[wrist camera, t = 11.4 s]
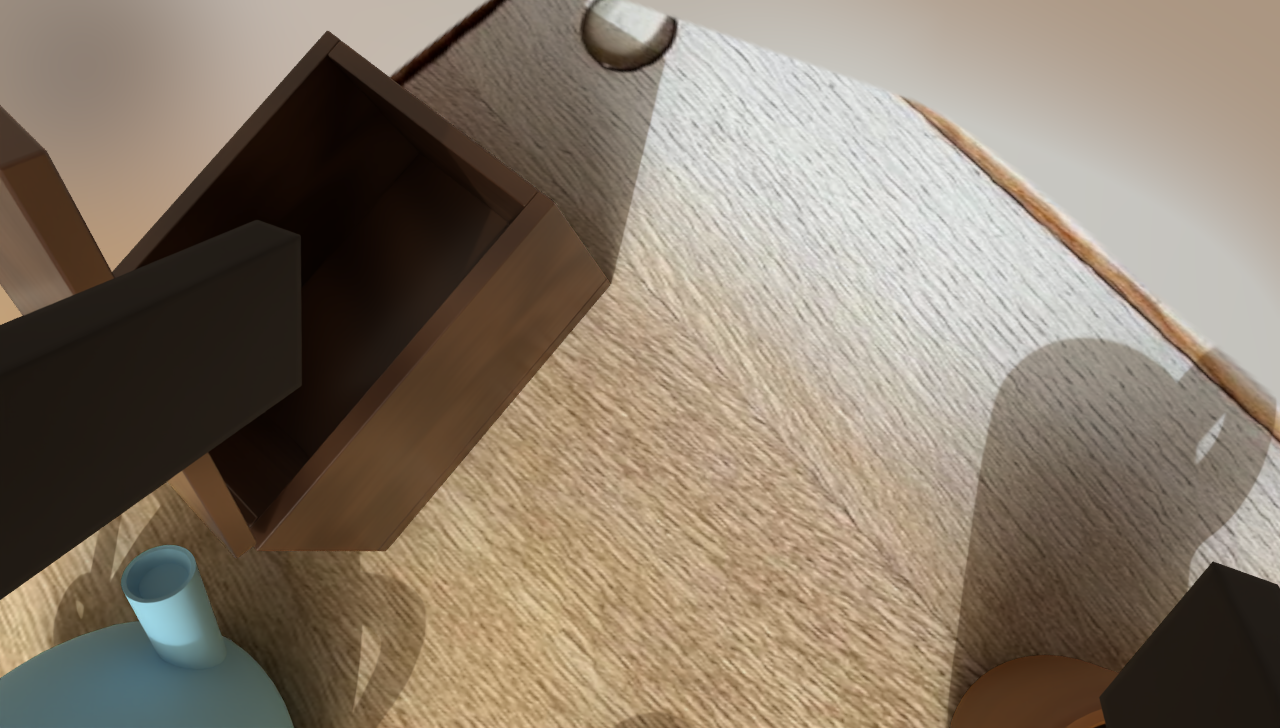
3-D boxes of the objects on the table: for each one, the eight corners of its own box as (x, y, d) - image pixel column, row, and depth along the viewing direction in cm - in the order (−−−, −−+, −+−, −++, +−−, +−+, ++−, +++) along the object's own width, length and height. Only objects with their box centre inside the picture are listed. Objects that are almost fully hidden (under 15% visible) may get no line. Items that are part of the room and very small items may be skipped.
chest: (426, 140, 40) (326, 29, 31) (611, 284, 36) (555, 202, 27) (218, 379, 39) (57, 331, 30) (386, 551, 35) (256, 551, 27)
